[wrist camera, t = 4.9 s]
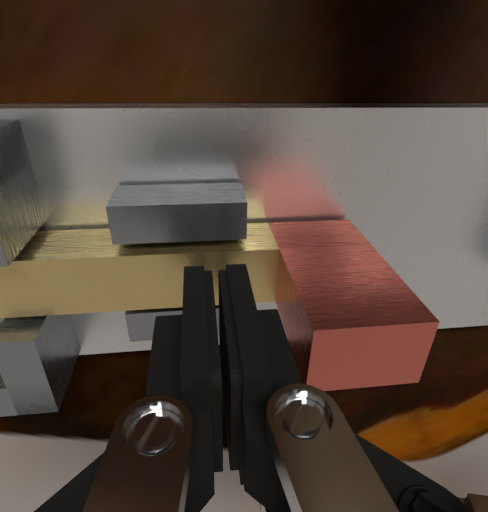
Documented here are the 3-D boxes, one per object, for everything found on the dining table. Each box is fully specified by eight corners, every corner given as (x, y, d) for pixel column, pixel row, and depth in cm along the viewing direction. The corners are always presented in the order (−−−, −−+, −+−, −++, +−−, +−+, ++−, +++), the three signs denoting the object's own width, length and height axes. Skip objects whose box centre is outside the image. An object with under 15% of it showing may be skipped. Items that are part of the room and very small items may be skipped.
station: (575, 103, 14) (702, 123, 10) (487, 310, 19) (554, 372, 15) (-307, 103, 11) (-546, 133, 7) (-140, 354, 15) (-236, 444, 12)
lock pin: (348, 219, 14) (439, 321, 9) (341, 266, 15) (418, 382, 10) (-85, 235, 12) (-281, 373, 7) (-61, 287, 13) (-218, 439, 8)
